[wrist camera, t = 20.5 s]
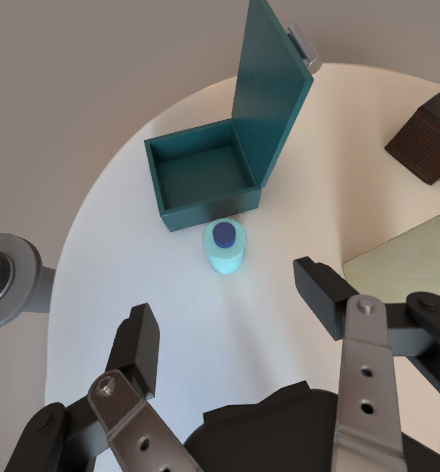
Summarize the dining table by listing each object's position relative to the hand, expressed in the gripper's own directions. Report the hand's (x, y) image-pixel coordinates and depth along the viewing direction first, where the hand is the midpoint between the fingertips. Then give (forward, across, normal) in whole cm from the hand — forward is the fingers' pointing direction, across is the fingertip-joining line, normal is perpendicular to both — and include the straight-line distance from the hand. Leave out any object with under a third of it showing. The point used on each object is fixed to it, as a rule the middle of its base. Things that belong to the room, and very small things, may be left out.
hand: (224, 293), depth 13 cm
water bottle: (+24, -2, +11) cm, 26 cm away
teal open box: (+33, -2, +1) cm, 33 cm away
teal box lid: (+23, -11, -9) cm, 27 cm away
